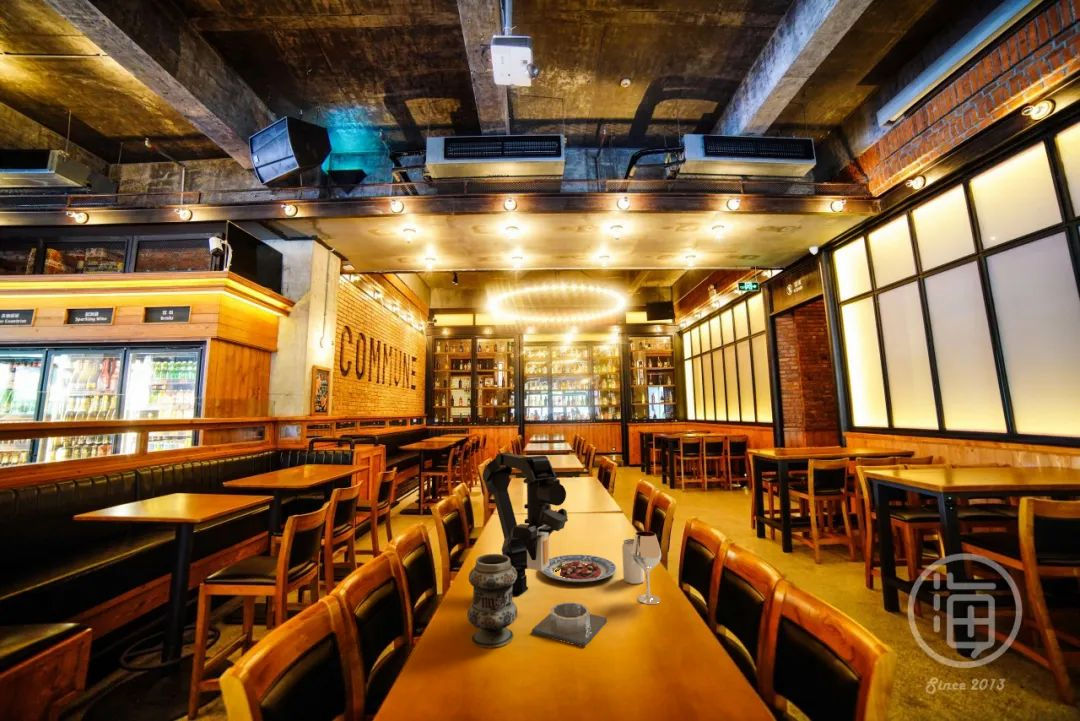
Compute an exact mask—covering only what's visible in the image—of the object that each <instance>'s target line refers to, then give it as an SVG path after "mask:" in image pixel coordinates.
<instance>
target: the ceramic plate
mask: <svg viewBox="0 0 1080 721" xmlns="http://www.w3.org/2000/svg"><path fill="white" fill-rule="evenodd" d="M583 563H584V564H583ZM564 564H565V565H564ZM585 564H587V565H585ZM562 565H563V566H562ZM556 568H557V569H556ZM555 569H556V570H555ZM560 569H561V572H560V576H562V577H559V576H557V575H556V574H554V570H555V572H557V571H559V570H560ZM616 572H617V565H616V564H615V563H614V562H613V561H611V560H609V559H607V558H606V557H601V556H597V555H590V554H589V555H588V554H565V555H558V556H555V557H551V558H549V566H548V567H547V568H545V569H544V570H542V571H541V573H543V575H545V576H547V577H549V578H550V579H554V580H558V581H564V582H570V581H571V582H570V583H572V582H573V583H587V582H594V581H601V580H604V579H607V578H609V577H611V576H613V575H614V574H615V573H616ZM563 577H565V578H563Z"/></svg>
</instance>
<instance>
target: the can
mask: <svg viewBox="0 0 1080 721" xmlns="http://www.w3.org/2000/svg"><path fill="white" fill-rule="evenodd" d="M633 543H634V538H628V539H627V538H626V539H624V540H623V544H622V548H621V549H622V568H623V569H622V570H623V571H622V572H623V580H624V582H626V583H627V584H630V585H641V584H643V583H644V582H645V571H644V570H643V569H642V568H641V567H640V566H639V565H638V564H637V563H636V562H635V560H634V558H633V555H632V549H633Z"/></svg>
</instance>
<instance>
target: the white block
mask: <svg viewBox="0 0 1080 721" xmlns="http://www.w3.org/2000/svg"><path fill="white" fill-rule="evenodd" d="M538 535H541V538H540V539H539V540H538V541H537V554H536V560H532V559H531V557H530V555H529V553H528V551H527V568H528V569H527V570H534V571H535V570H536V571H541V572H542V570H544V569H545V568H547V567H548V566H549V559H550V535H549V533H548V532H540V531H538Z"/></svg>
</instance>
